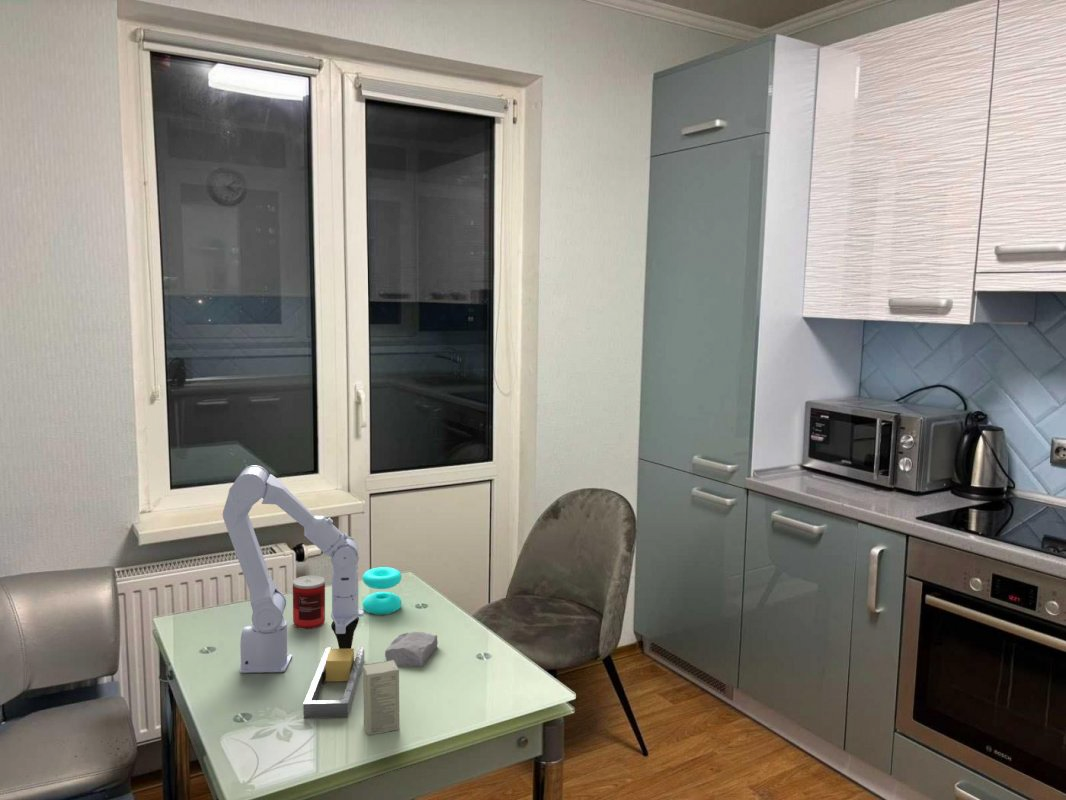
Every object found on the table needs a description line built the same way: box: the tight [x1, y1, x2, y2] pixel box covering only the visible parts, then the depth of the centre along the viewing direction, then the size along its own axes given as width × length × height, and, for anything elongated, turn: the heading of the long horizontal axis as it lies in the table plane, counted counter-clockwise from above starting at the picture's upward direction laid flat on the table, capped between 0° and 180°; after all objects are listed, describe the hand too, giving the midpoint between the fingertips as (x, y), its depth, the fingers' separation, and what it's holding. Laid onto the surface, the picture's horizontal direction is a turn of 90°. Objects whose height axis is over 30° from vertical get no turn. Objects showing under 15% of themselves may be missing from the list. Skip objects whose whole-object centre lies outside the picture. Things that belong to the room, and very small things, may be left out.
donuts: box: [362, 566, 402, 615], centre depth 209 cm, size 10×10×10 cm
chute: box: [302, 646, 365, 719], centre depth 166 cm, size 8×25×3 cm, turn 5°
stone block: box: [384, 631, 439, 668], centre depth 183 cm, size 12×5×10 cm
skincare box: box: [362, 660, 401, 736], centre depth 151 cm, size 6×4×12 cm
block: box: [325, 647, 355, 682], centre depth 171 cm, size 5×6×4 cm
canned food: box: [292, 574, 326, 630], centre depth 198 cm, size 8×8×11 cm
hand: (345, 651), depth 179 cm, fingers closed
